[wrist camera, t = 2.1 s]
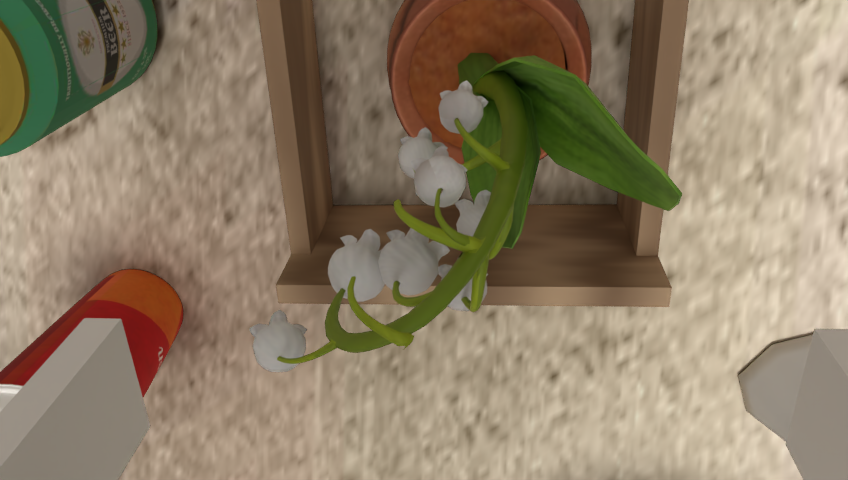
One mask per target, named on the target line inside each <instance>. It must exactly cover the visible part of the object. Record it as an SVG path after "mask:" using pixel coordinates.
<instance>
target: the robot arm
mask: <svg viewBox="0 0 848 480" xmlns="http://www.w3.org/2000/svg"><path fill="white" fill-rule="evenodd" d="M149 428H150V422H149V419H148V415H147V411H146V408H145V404H144V400H143V397H142V393H141V389H140V386H139V382H138V378H137V375H136V371H135V367H134V364H133V360H132V356H131V353H130V349H129V345H128V342H127V338H126V334H125V331H124V327H123V323H122V320H121V319H109V318H84V319H83V320H82V321H81V322H80V324H79V325H78V326H77V327H76V328H75V329H74V330H73V331H72V332H71V334H70V335H69V336H68V337H67V338H66V339H65V340H64V341H63V343H62V344H61V345H60V346H59V347H58V348H57V349H56V350H55V351H54V353H53V354H52V355H51V356H50V357H49V358H48V359H47V360H46V361H45V363H44V364H43V365H42V366H41V367H40V368H39V369H38V370H37V372H36V373H35V374H34V375H33V376H32V377H31V378H30V379H29V380H28V382H27V383H26V384H25V385H24V386H23V387H22V388H21V389H20V391H19V392H18V393H17V394H16V395H15V396H14V397H13V398H12V399H11V401H10V402H9V403H8V404H7V405H6V406H5V407H4V408H3V409H2V411H1V412H0V480H118V479H119V477H120V476H121V474H122V472H123V471H124V469H125V467H126V466H127V464H128V462H129V461H130V459H131V458H132V456H133V454H134V453H135V451H136V449H137V448H138V446H139V444H140V443H141V441H142V439H143V438H144V436H145V434H146V433H147V431H148V430H149ZM786 446H787V448H788V450H789V452H790V454H791V456H792V458H793V460H794V462H795V464H796V466H797V468H798V470H799V472H800V474H801V476H802V478H803V480H848V329H814V333H813V337H812V341H811V345H810V349H809V353H808V357H807V361H806V365H805V369H804V373H803V377H802V381H801V385H800V389H799V393H798V397H797V401H796V405H795V409H794V413H793V417H792V421H791V425H790V429H789V433H788V437H787V441H786Z"/></svg>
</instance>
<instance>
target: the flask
mask: <svg viewBox="0 0 848 480" xmlns="http://www.w3.org/2000/svg"><path fill="white" fill-rule="evenodd" d="M812 337H813V335H809V336H805V337H801V338H797V339H793V340H789V341H784V342H780V343H776V344H772V345H771V346H770V347H769V348H768V349H767V350H766V351H765V352H764V353H762V354H761V355H760V356H759V357H758V358H757V359H756V360H755V361H754V362H753V363H751V364H750V365H749V366H748V367H747V368H746V369H745V370H744V371H743V372H742V373H741V374H739V375H738V377H739V382H740V386H741V390H742V394H743V399H744V403H745V407H746V411H747V412H749V413H750V414H751V415H752V416H753V417H755V418H756V419H757V420H758V421H760V422H761V423H762V424H764V425H765V426H766V427H768V428H769V429H770V430H772V431H773V432H774V433H775V434H777V435H778V436H779V437H781V438H782V439H783V440H784V441H787V437H788V433H789V429H790V425H791V421H792V417H793V413H794V409H795V405H796V401H797V397H798V393H799V389H800V385H801V381H802V377H803V373H804V369H805V365H806V361H807V357H808V353H809V349H810V345H811V341H812Z"/></svg>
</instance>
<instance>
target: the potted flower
mask: <svg viewBox="0 0 848 480" xmlns="http://www.w3.org/2000/svg"><path fill="white" fill-rule="evenodd" d="M387 70H388V78H389V85H390V89H391V93H392V100H393V103H394V107H395V110H396V113H397V116H398V118H399V120H400V122H401V124H402V126H403V128H404V129H405V131H406V132H407V134H408V135H409V136H407V137H403V138H401V139H400V141H401V143H402V146H401V147H400V150H399V153H398V158H399V164H400V168H401V170H402V171H403V172H404V174H406V175H407V176H409V177H410V178H414V185H415V191H416V195H418V196H419V198H420V199H421V200H422V201H423V202H424V203H426V204H427V205H429V206H434V207H435V217H436V219H437V221H438V223H439V225H440V226H441V228H442V229H441V228H438V227H435V226H432V225H430V224H427V223H425V222H423V221H421V220H419V219H417V218H415V217H413V216H412V215H410V214H409V213H407V212H406V211H405V210H404V209H403V207H402V204H401V201H400V200H396V201H394V210H395V212H396V213H397V215H398V216H399V218H400V219H401V220H402V221H403V222H404V223H406V224H407V225H408V226H409V227H410V230H409V232H408V233H407V235H406V236H405V233H404V232H402V231H400V230H392V231H389V232H387V233H386V234H387V236H388V238H389V239H390V240H391V242H389V243H387V244H386V245H385V246H384V247H383V249H381V250H379V248H380V237H379V235H378V234H377V233H376V232H374V231H373V230H371V229H368V230H365V231H364V233H363V235H362V237H361V238H360V239H359V241H358V242H357V238H355V237H353V236H352V235H346V236H343V237H340V239H341V240H342V242H343V243H344V244H345V246H344V247H342V248H340V249H337V250H336V251H335V252H334V254H333V255H332V257H331V259H330V261H329V265H328V276H329V279H330V282H331V285H332V287H333V289H334V290H335V291H336V293H337V294H336V296H335V297H334V299H333V301H332V303H331V305H330V307H329V309H328V312H327V316H326V320H325V330H326V336H327V338H328V339H329V341H330V342H329V343H328V344H326V345H325V346H323V347H322V348H320V349H318V350H317V351H315V352H313V353H311V354H308V355H306V356H303V355H304V353H305V350H306V340H305V337H304V333H305V332H306V330H307V329H306V328H305V327H303V326H302V325H299V324H294V325H292V324H290V323H288V321H287V317H286V315H285V313H284V312H282V311H281V310H278V311H276V312H275V313H274V314H273V315H272V316H271V319H270V322H269V325H266V324H256V325H254V326H253V327H251V328H250V332H251V334H252V335H253V336H254V337H255V339H254V343H253V349H254V354H255V357H256V360H257V362H258V363H259V364H260V365H261V366H262V367H263V368H264V369H266V370H268V371H270V372H287V371H289V370H291V369H293V368H295V367H296V366H297V365H298V364H299V363H303V362H307V361H310V360H313V359H315V358H318V357H320V356H322V355H324V354H326V353H328V352H330V351H332V350H334V349H336V348H339V349H341V350H344V351H347V352H352V353H358V352H366V351H369V350H373V349H377V348H380V347H383V346H385V345H388V344H391V343H394V344H396V345H397V346H405V348H406V347H407V346H408V345H409V344H410V343H411V342H412V340H413V338H414V336H413V335H412V333H413V332H415V331H417V330H419V329H420V328H422V327H424V326H425V325H427V324H428V323H429V322H430V321H431V320H432V319H434V318H435V317H436V316H437V315H438V314H439V313H440V312H442V311H443V310H444V309H445V308H446V307H447V306H448V307H450V308H451V309H453V310H459V311H472V312H475V311H477V310H478V309H479V307H480V305H481V303H482V301H483V300H484V298H485V296H486V294H487V281H486V276H487V275H488V274H487V270H488V263H489V260H490V259H493V258H494V257H495V256H496V255H497V254H498V252H499V251H500V249H501V248H502V247H504V248H510V249H513V247H514V245H515V243H516V242H517V240H518V238H519V236H520V234H521V232H522V228H523V224H524V220H525V216H526V211H527V206H528V202H529V198H530V194H531V190H532V186H533V182H534V178H535V175H536V171H537V167H538V163H539V160H541V159H543V158H544V157H545V156H547V155H549V156H550V157H551V159H552V160H553V161H554V162H555V163H557V164H558V165H560V166H562V167H565V168H567V169H569V170H571V171H573V172H575V173H577V174H579V175H581V176H584V177H586V178H588V179H590V180H592V181H594V182H596V183H598V184H600V185H602V186H605V187H607V188H609V189H612V190H614V191H617V192H619V193H622V194H624V195H627V196H629V197H632V198H634V199H637V200H640V201H642V202H645V203H647V204H650V205H652V206H655V207H658V208H661V209H664V210H667V211H669V210H671V209H672V208H674V207H675V206H676V205H677V204H679V201H680V199H681V196H682V193H681V192H680V190H679V189H678V188H677V187H676V185H675V184H674V183H673V182H672V180H671V179H670V178H669V177H668V175H667V174H666V173H665V172H664V170H663V169H662V168H661V167H660V166H659V165H657V164H656V163H655V162H654V161H653V160H652V159H651V158H650V157H649V156H648V155H646V154H645V153H644V152H643V151H642V150H641V149H640V148H639V147H638V146H636V144H635V143H634V142H633V141H632V140H631V139H630V138H629V137H628V136H627V134H626V133H625V132H624V131H623V129H622V128H621V127H620V126H619V124H618V123H617V122H616V121H615V119H614V118H613V117H612V116H611V114H610V113H609V112H608V111H607V109H606V108H605V107H604V106H603V104H602V103H601V102H600V101H599V99H598V98H597V97H596V96H595V94H594V93H593V92H592V91H591V89H590V88H589V87H588V84H589V79H590V72H591V40H590V34H589V28H588V25H587V22H586V19H585V16H584V13H583V11H582V9H581V8H580V6H579V4H578V2H577V0H405V1H404V2H403V4H402V6H401V8H400V9H399V11H398V13H397V15H396V17H395V20H394V23H393V26H392V28H391V31H390V36H389V42H388V48H387ZM465 173H467V178H468V183H469V188H470V193H471V196H472V199H473V201H474V205H473V202H472V201H470V200H467V199H462V200H459V198H460V197H461V195H462V193H463V191H464V189H465V187H466V175H465ZM442 189H443V192H442V193H441V190H442ZM458 200H459V201H458ZM455 202H456V203H455ZM454 203H455V205H456V207H457V208H458V209H459V212H460V217H459V219H458V221H457V223H456V226H457V231H456V230H454V229H453V228H451V227H450V226H449V225H448V224H447V223H446V221H445V220H444V218H443V217H442V215H441V211H440V207H443V208H444V207H447V206H451V205H453V204H454ZM429 239H432V240H434V241H431V242H430V243H428V242H429ZM356 242H357V243H356ZM447 246H448V247H451V248H453V249H456V250H459V251H462V253H461V255H460V256H459V258H458V259H457V261H456V262H455V264H454V265H453V266H451V265H447V264H444V265H441V266H439V267H438V262H439V260H440V259H441V257H442V256H444V255H446V254H448V252H449V251H450V250H449V248H448V247H447ZM378 250H379V251H378ZM438 274H439V275H440V276H441V278H442V279H441V281H440V282H439V284H438V285H437V286H436V287H435V288H434V290H433V291H431V292H429V293H426V294H424V295H421V296H417V297H403V296H402V295H401V294H405V295H408V296H409V295H416V294H419V293H421V292H423V291H426V290H427V289H428V288H429V287H430V286H431V284H432V283H433V281H434V280H435V278H436V277H437V275H438ZM385 284H386V286H387V287H389V288H390V289H391V290H392V294H393V299H394V300H395V301H396V302H397V303H398V304H400V305H404V306H410V307H415V306H416V307H415V308H414V309H413V310H411V311H410V312H409V313H408V314H406V315H405V316H403V317H401V318H399V319H397V320H395V321H394V322H392V323H390V324H387V325H383V324H381V323H379V322H378V321H376V320H375V319H373V318H372V317H370V316H369V315H368V314H367V313H365V312H364V310H363V309H362V308H361V307H360V306H359V304H358V302H364V301H367V300H370V299H372V298H374V297H376V296H377V295H378V294H379V293H380V292H381V290H382V289H383V287H384V285H385ZM400 293H401V294H400ZM342 298H346V299H348V301H349V304H350V306H351V309H352V310H353V311H354V313H355V314H356V316H357V317H358V318H359V319H360V320H361V321H362V322H363V323H364V324H365V325H366V326H367V327H369V328H370V329H371V330H372V331H368V332H363V333H348V332H346V331H345V330H344V329H343V328H342V327H341V326H340V323H339V321H338V312H339V308H340V305H341V301H342ZM405 348H404V349H405ZM404 349H403V350H404Z"/></svg>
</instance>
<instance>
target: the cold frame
mask: <svg viewBox="0 0 848 480" xmlns="http://www.w3.org/2000/svg"><path fill="white" fill-rule="evenodd" d="M256 1H257V9H258V16H259V23H260V31H261V38H262V45H263V52H264V60H265V67H266V74H267V81H268V89H269V96H270V103H271V111H272V118H273V125H274V132H275V140H276V147H277V154H278V162H279V169H280V176H281V183H282V191H283V198H284V205H285V213H286V220H287V227H288V234H289V242H290V249H291V256H290V258H289V260H288V262H287V264H286V266H285V268H284V270H283V272H282V274H281V276H280V278H279V280H278V282H277V284H276V289H277V296H278V302H279V303H306V304H331V303H332V301H333V299H334V297H335V296H336V294H337V293H336V291H335V290H334V289H333V287H332V285H331V282H330V279H329V276H328V265H329V261H330V259H331V257H332V255H333V254H334V252H335V251H336V250H337V249H340V248H342V247H344V246H345V244H344V243H343V242H342V240H341V239H340V237H343V236H346V235H352V236H353V237H355V238H357V242H358V241H359V239H360V238H361V237H362V235H363V233H364V231H365V230H368V229H371V230H373V231H374V232H376V233H377V234H378V235H379V237H380V248H379V250H381V249H383V247H384V246H385V245H386V244H387V243H389V242H391V240H390V239H389V238H388V236H387V234H386V233H387V232H389V231H392V230H400V231H402V232H404V233H405V236H406V235H407V233H408V232H409V230H410V227H409V226H408V225H407V224H406V223H404V222H403V221H402V220H401V219H400V218H399V216H398V215H397V213H396V212H395V210H394V205H333V197H332V188H331V178H330V168H329V159H328V149H327V140H326V130H325V120H324V111H323V101H322V92H321V82H320V72H319V63H318V53H317V43H316V34H315V24H314V15H313V5H312V0H256ZM688 3H689V0H635V9H634V20H633V31H632V42H631V53H630V65H629V76H628V87H627V98H626V109H625V120H624V132H625V133H626V134H627V136H628V137H629V138H630V139H631V140H632V141H633V142H634V143H635V144H636V146H638V147H639V148H640V149H641V150H642V151H643V152H644V153H645V154H646V155H648V156H649V157H650V158H651V159H652V160H653V161H654V162H655V163H656V164H657V165H659V166H660V167H661V168H662V169H663V170H664V172H665V173H666V174H667V175H668V167H669V159H670V151H671V143H672V134H673V126H674V118H675V110H676V101H677V93H678V85H679V77H680V69H681V60H682V52H683V44H684V36H685V28H686V19H687V11H688ZM402 207H403V209H404V210H405V211H406V212H407V213H409V214H410V215H412V216H413V217H415V218H417V219H419V220H421V221H423V222H425V223H427V224H430V225H432V226H435V227H438V228H441V226H440V225H439V223H438V221H437V219H436V217H435V207H434V206H429V205H402ZM440 211H441V215H442V217H443V218H444V220H445V221H446V223H447V224H448V225H449V226H450V227H451V228H453V229H454V230H456V231H457V226H456V223H457V221H458V219H459V217H460V212H459V209H458V208H457V207H456V205H451V206H447V207H444V208H443V207H440ZM662 216H663V209H661V208H658V207H655V206H652V205H650V204H647V203H645V202H642V201H640V200H637V199H634V198H632V197H629V196H627V195H624V194H622V193H619V192H618V198H617V204H608V205H528V206H527V211H526V216H525V220H524V224H523V228H522V232H521V234H520V236H519V238H518V240H517V242H516V243H515V245H514V247H513V249H510V248H504V247H502V248H501V249H500V251H499V252H498V254H497V255H496V256H495V257H494V258H493V259H490V260H489V263H488V270H487V274H488V275H487V276H486V281H487V294H486V296H485V298H484V300H483V301H482V303H481V305H527V306H638V307H669V304H670V296H671V289H672V287H671V285H670V283H669V280H668V278H667V276H666V274H665V271H664V269H663V267H662V264H661V262H660V260H659V258H658V249H659V241H660V233H661V225H662ZM441 229H442V228H441ZM431 241H434V240H432V239H429V242H428V243H430V242H431ZM357 242H356V243H357ZM447 247H448V246H447ZM448 248H449V250H450V251H449V252H448V254H446V255H444V256H442V257H441V259H440V260H439V262H438V267H439V266H441V265H444V264H447V265H451V266H453V265H454V264H455V262H456V261H457V259H458V258H459V256H460V255H461V253H462V251H459V250H456V249H453V248H451V247H448ZM379 250H378V251H379ZM441 279H442V278H441V276H440V275H439V274H438V275H437V277H436V278H435V280H434V281H433V283H432V284H431V286H430V287H429V288H428V289H427V290H426V291H423V292H421V293H419V294H416V295H409V296H408V295H405V294H401V293H400V294H401V295H402V296H403V297H417V296H421V295H424V294H426V293H429V292H431V291H433V290H434V288H435V287H436V286H437V285H438V284H439V282H440V281H441ZM341 304H349V301H348V299H346V298H342V301H341ZM358 304H398V303H397V302H396V301H395V300H394V299H393V294H392V290H391V289H390V288H389V287H387V286H386V284H385V285H384V287H383V289H382V290H381V292H380V293H379V294H378V295H377V296H376V297H374V298H372V299H370V300H367V301H364V302H358Z"/></svg>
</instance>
